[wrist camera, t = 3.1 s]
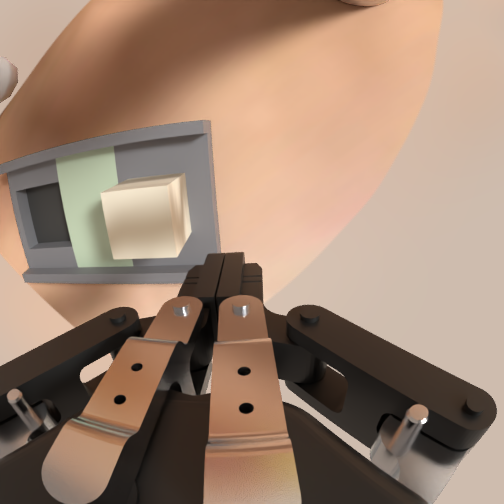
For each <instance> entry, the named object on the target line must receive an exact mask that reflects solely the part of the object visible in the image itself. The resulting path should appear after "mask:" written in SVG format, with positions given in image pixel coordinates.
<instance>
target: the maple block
mask: <svg viewBox="0 0 504 504" xmlns="http://www.w3.org/2000/svg"><path fill="white" fill-rule="evenodd" d="M100 194H101V200H102V206H103V211H104V217H105V222H106V227H107V232H108V236H109V241H110V246H111V250H112V254H113V259H144V258H174V257H178V255H179V253H180V251H181V250H182V248H183V246H184V244H185V243H186V241H187V239H188V238H189V236H190V234H191V232H192V231H191V222H190V214H189V205H188V196H187V187H186V177H185V173H177V174H167V175H157V176H148V177H140V178H132V179H127V180H125V181H123V182H121V183H119V184H117V185H115V186H113V187H111V188H109V189H107V190H105V191H103V192H101V193H100Z"/></svg>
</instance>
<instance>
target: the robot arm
mask: <svg viewBox="0 0 504 504" xmlns="http://www.w3.org/2000/svg"><path fill="white" fill-rule="evenodd" d="M340 1H342V2H345V3H348V4H353V5H357V6H375V5H379V4H382V3H385V2H386V1H388V0H340ZM108 353H111V356H112V358H113V363H112V364H111V366H110V367H109V369H108V370H107V371H105V372H104V373H102V374H100V375H99V376H97V377H95V378H93V379H92V380H90V381H88V382H86V383H82V382H81V380H80V372H81V370H82V369H83V368H84V367H85V366H87V365H89V364H90V363H92V362H94V361H96V360H98V359H100V358H101V357H103V356H105V355H107V354H108ZM212 357H213V362H212ZM327 364H328V365H329V366H331V367H333V368H334V369H336V370H338V371H339V372H340V373H342V374H343V375H344V376H342V375H341V374H339V373H337V372H336V371H334V370H333V369H331V368H330V367H328V366H327ZM211 372H212V380H211V393H209V394H206V390H207V387H208V382H209V379H210V376H211ZM278 379H282V380H285V384H286V386H287V387H288V389H289V390H291V391H292V392H293V393H294V394H296V395H297V396H298V397H300V398H301V399H302V400H304V401H305V402H306V403H307V404H309V405H310V406H311V407H313V408H314V409H315V410H317V411H318V412H319V413H321V414H322V415H323V416H325V417H326V418H327V419H329V420H330V421H332V422H333V423H334V424H336V425H337V426H338V427H340V428H341V429H342V430H344V431H345V432H347V433H348V434H350V435H351V436H353V437H354V438H355V439H357V440H358V441H360V442H361V443H363V444H364V445H365V446H367V447H368V448H370V449H371V450H370V459H371V461H369V460H368V459H367V458H365V457H364V456H362V455H361V454H360V453H359V452H357V451H356V450H354V449H353V448H352V447H351V446H349V445H348V444H347V443H345V442H344V441H343V440H342V439H340V438H339V437H338V436H337V435H335V434H334V433H333V432H332V431H330V430H329V429H327V427H325V426H324V425H323V424H322V423H320V422H319V421H318V420H317V419H315V418H314V417H313V416H312V415H310V414H309V413H307V412H306V411H304V410H303V409H301V408H298V407H296V406H294V405H292V404H289V403H286V402H282V397H281V392H280V386H279V380H278ZM496 414H497V408H496V404H495V402H494V400H493V398H492V397H491V396H490V395H489V394H488V393H487V392H485V391H484V390H482V389H480V388H478V387H476V386H474V385H472V384H470V383H468V382H466V381H464V380H462V379H460V378H458V377H456V376H454V375H452V374H450V373H448V372H446V371H444V370H442V369H440V368H438V367H436V366H434V365H432V364H430V363H428V362H426V361H425V360H423V359H421V358H419V357H417V356H415V355H413V354H411V353H409V352H407V351H405V350H403V349H401V348H399V347H397V346H395V345H393V344H392V343H390V342H388V341H386V340H384V339H382V338H380V337H378V336H376V335H374V334H372V333H370V332H369V331H367V330H365V329H363V328H361V327H359V326H357V325H355V324H353V323H351V322H349V321H348V320H346V319H344V318H342V317H340V316H338V315H336V314H334V313H332V312H331V311H329V310H327V309H325V308H323V307H320V306H316V305H302V306H298V307H295V308H293V309H291V310H290V311H289V312H288V314H287V316H284V315H279V314H275V313H273V312H271V311H269V310H267V309H266V308H265V306H264V304H263V282H262V268H261V267H260V266H259V265H258V264H257V263H247V264H245V257H244V252H235V253H226V254H225V253H209V254H207V257H206V260H205V262H204V265H195V266H194V267H193V268H192V269H190V270H189V271H188V273H187V275H186V279H185V280H184V282H183V284H182V287H181V289H180V291H179V294H178V296H177V297H176V298H173V299H171V300H169V301H167V302H165V303H164V304H163V306H162V307H161V309H160V310H159V312H158V314H157V315H156V316H153V317H148V318H142V319H139V316H138V313H137V311H136V310H135V309H133V308H130V307H119V308H115V309H112V310H109V311H107V312H105V313H103V314H101V315H99V316H97V317H96V318H94V319H92V320H90V321H88V322H86V323H84V324H82V325H80V326H78V327H76V328H74V329H72V330H70V331H68V332H66V333H64V334H62V335H60V336H58V337H56V338H54V339H52V340H50V341H48V342H46V343H44V344H43V345H41V346H39V347H37V348H35V349H33V350H31V351H29V352H27V353H25V354H24V355H21V356H19V357H17V358H15V359H14V360H12V361H10V362H8V363H6V364H4V365H2V366H0V504H433V503H434V501H435V500H436V499H437V497H438V496H439V494H440V493H441V492H442V490H443V489H444V487H445V486H446V484H447V483H448V481H449V479H450V478H451V476H452V475H453V473H454V472H455V470H456V468H457V467H458V465H459V463H460V462H461V460H462V459H463V458H464V457H465V456H466V455H467V454H468V453H469V452H470V450H471V449H472V448H473V447H474V446H475V444H476V443H477V442H478V441H479V440H480V438H481V437H482V436H483V435H484V433H485V432H486V431H487V430H488V428H489V427H490V426H491V424H492V423H493V421H494V420H495V418H496Z"/></svg>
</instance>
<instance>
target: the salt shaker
mask: <svg viewBox="0 0 504 504" xmlns="http://www.w3.org/2000/svg"><path fill="white" fill-rule="evenodd" d="M17 75H18V74H17V67H15V66H14V65H13V64H12V63H11V62H10V61H9V60H8V59H7V58H6V57H2V56H0V103H1V102H2V101H4V100H5V99H7V98H8V97H10V96H11V94H12V92H13V90H14V88H15V86H16V84H17V83H18V76H17Z"/></svg>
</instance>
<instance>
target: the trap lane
mask: <svg viewBox="0 0 504 504" xmlns="http://www.w3.org/2000/svg"><path fill="white" fill-rule="evenodd" d="M4 173H7V177H8V183H9V189H10V194H11V199H12V204H13V209H14V213H15V218H16V222H17V226H18V230H19V234H20V238H21V241H22V245H23V248H24V252H25V255H26V258H27V262H28V265H29V269H28V270H27V271H26V272H24V273H23V274H22V275H23V278H24V281H25V282H29V283H79V284H169V283H183V282H184V280H185V279H186V275H187V273H188V271H189V270H190V269H192V268H193V267H194V266H195V265H204V262H205V260H206V257H207V254H209V253H221V246H220V236H219V225H218V214H217V202H216V190H215V178H214V165H213V151H212V137H211V122H210V121H209V120H199V121H190V122H181V123H173V124H166V125H159V126H152V127H146V128H140V129H134V130H128V131H123V132H118V133H113V134H108V135H103V136H98V137H94V138H89V139H85V140H81V141H77V142H73V143H69V144H65V145H61V146H57V147H54V148H50V149H47V150H43V151H40V152H37V153H33V154H30V155H27V156H24V157H21V158H18V159H15V160H12V161H9V162H6V163H3V164H0V174H4ZM177 173H185V177H186V187H187V196H188V205H189V214H190V222H191V231H192V232H191V234H190V236H189V238H188V239H187V241H186V243H185V244H184V246H183V248H182V250H181V251H180V253H179V255H178V257H174V258H144V259H113V254H112V250H111V246H110V241H109V236H108V232H107V227H106V222H105V217H104V211H103V206H102V200H101V194H100V193H101V192H103V191H105V190H107V189H109V188H111V187H113V186H115V185H117V184H119V183H121V182H123V181H125V180H127V179H132V178H140V177H148V176H157V175H167V174H177Z"/></svg>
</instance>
